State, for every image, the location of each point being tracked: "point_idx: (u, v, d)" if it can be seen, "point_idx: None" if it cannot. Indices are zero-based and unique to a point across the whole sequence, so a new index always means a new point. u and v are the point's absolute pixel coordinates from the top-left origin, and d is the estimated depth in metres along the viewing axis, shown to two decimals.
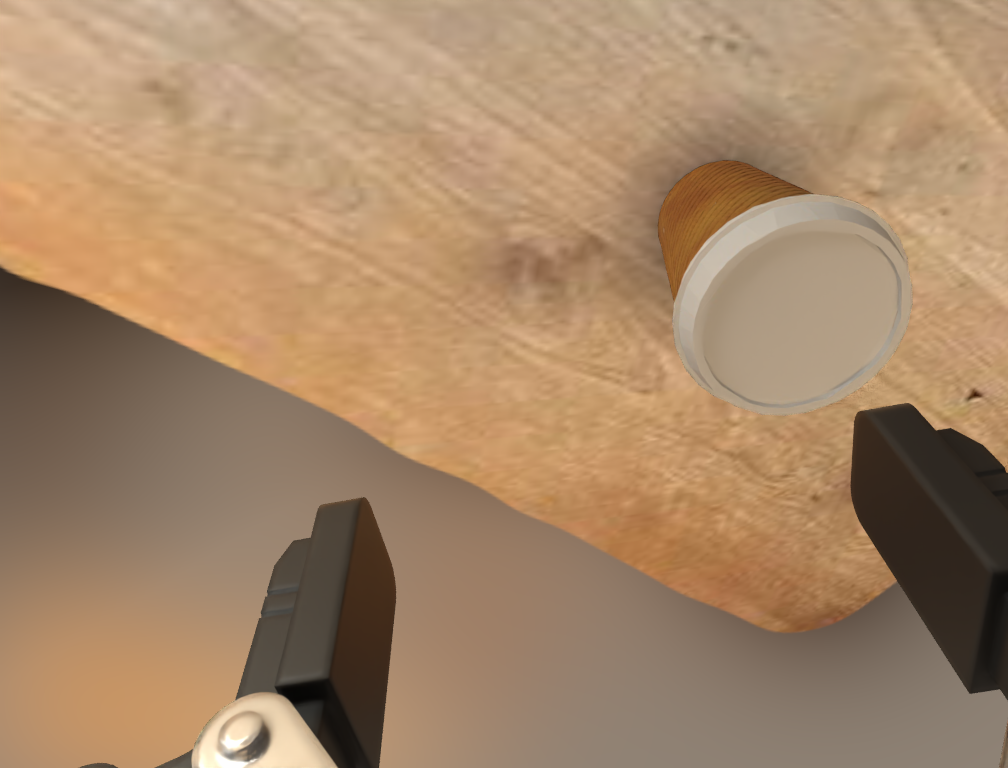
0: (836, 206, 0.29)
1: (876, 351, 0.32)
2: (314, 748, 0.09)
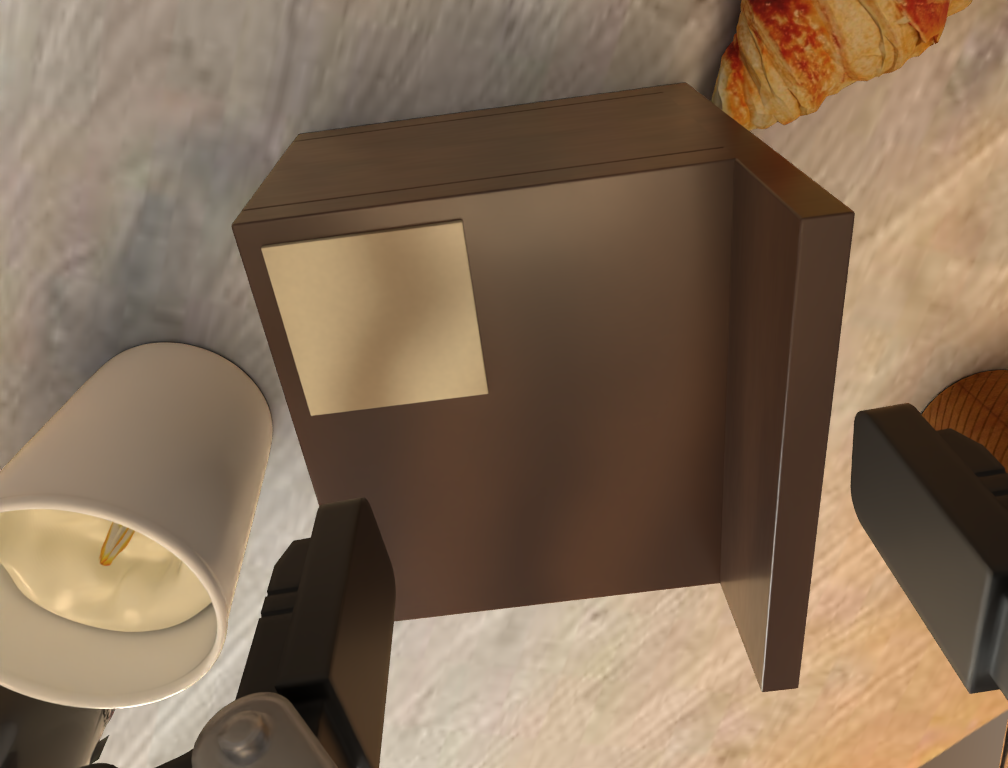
0: None
1: None
2: (314, 748, 0.09)
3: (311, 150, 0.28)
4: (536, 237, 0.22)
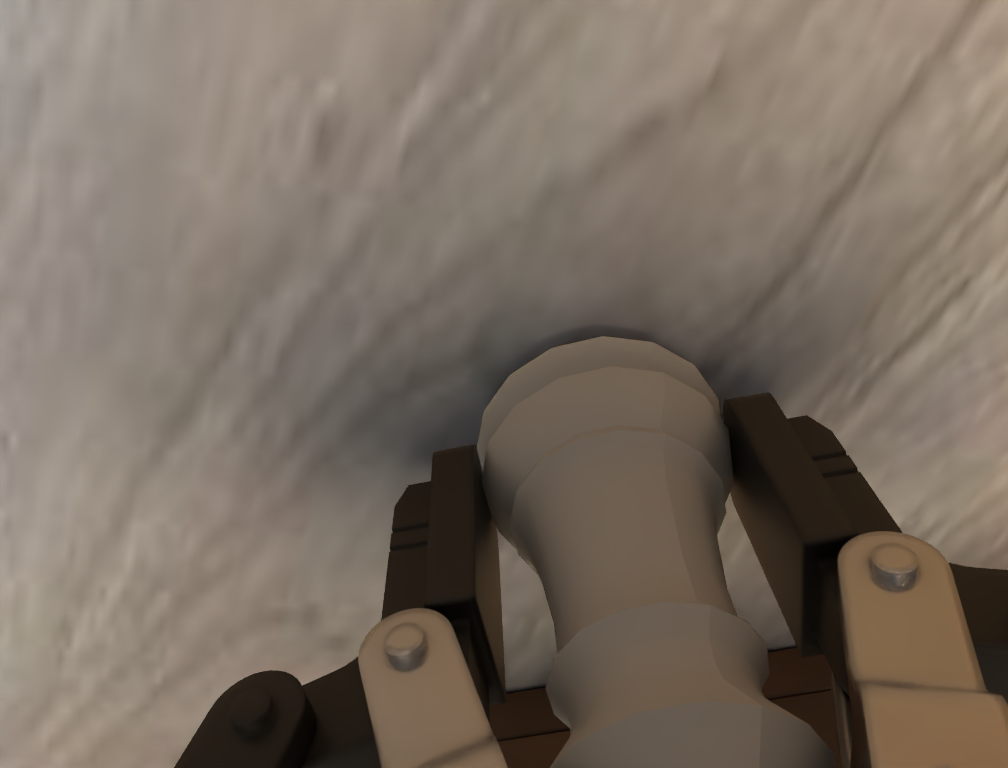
0: None
1: None
2: (463, 675, 0.09)
3: None
4: None
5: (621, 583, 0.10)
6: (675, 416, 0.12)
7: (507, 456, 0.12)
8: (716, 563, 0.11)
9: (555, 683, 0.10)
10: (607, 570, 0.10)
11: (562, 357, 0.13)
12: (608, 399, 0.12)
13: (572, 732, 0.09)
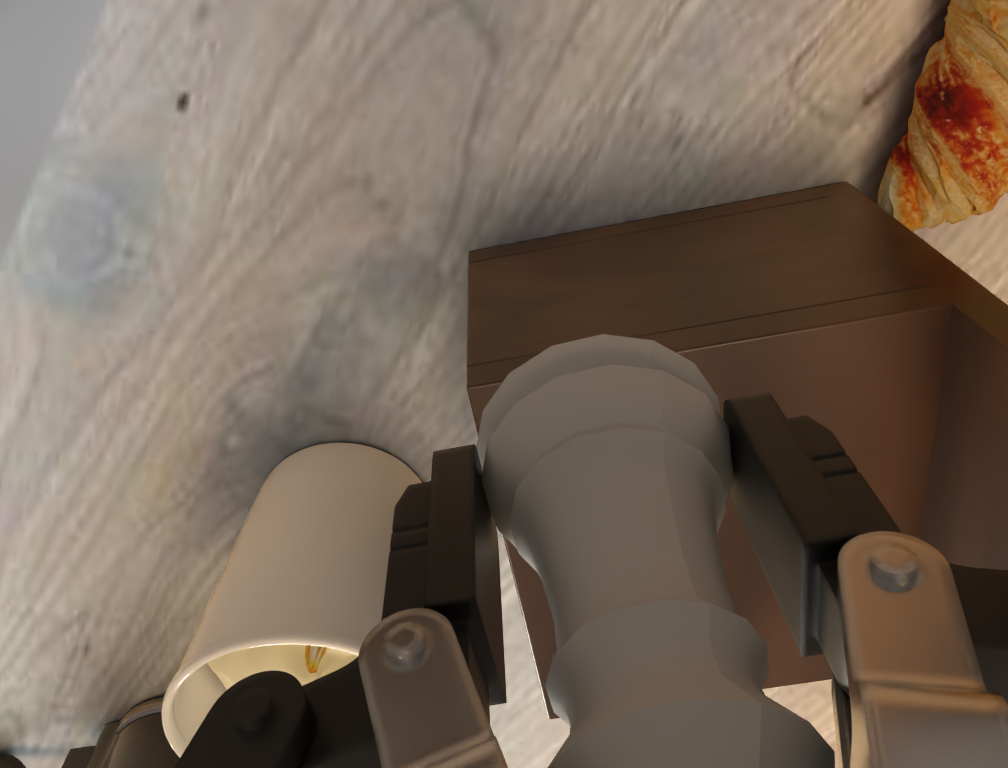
0: None
1: None
2: (463, 675, 0.09)
3: (495, 277, 0.29)
4: (754, 381, 0.23)
5: (622, 580, 0.10)
6: (675, 414, 0.12)
7: (507, 454, 0.12)
8: (716, 561, 0.11)
9: (555, 681, 0.10)
10: (607, 569, 0.10)
11: (562, 355, 0.13)
12: (609, 396, 0.12)
13: (572, 730, 0.09)
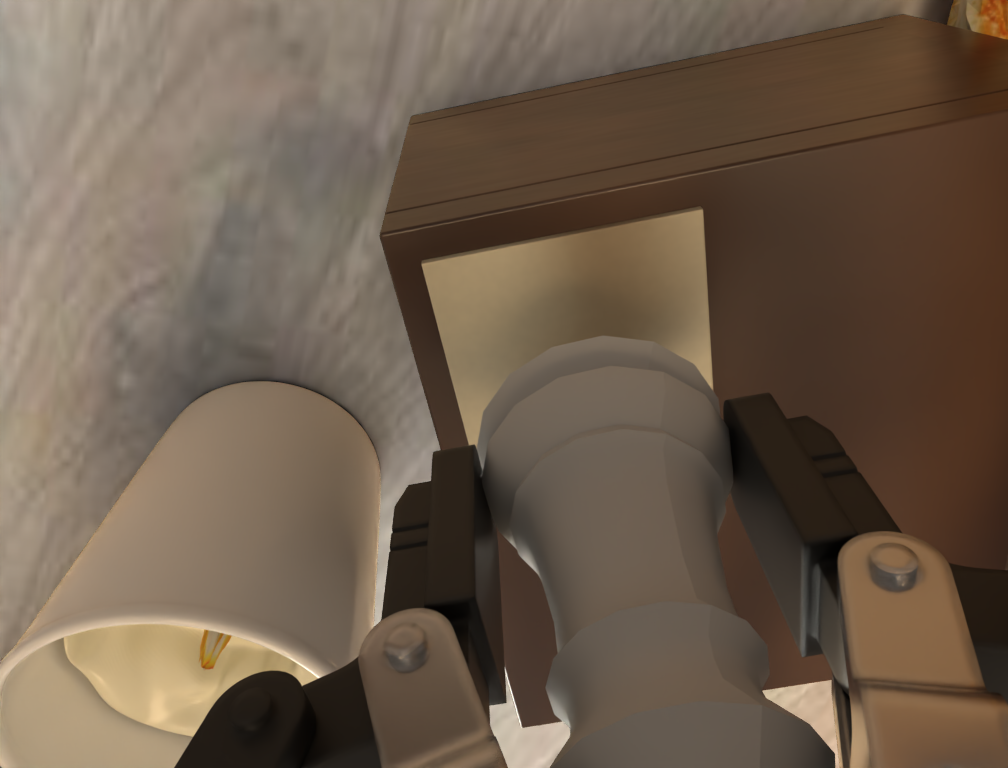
0: None
1: None
2: (463, 675, 0.09)
3: (440, 132, 0.21)
4: (801, 223, 0.16)
5: (622, 582, 0.10)
6: (674, 416, 0.12)
7: (507, 456, 0.12)
8: (716, 563, 0.11)
9: (555, 683, 0.10)
10: (608, 570, 0.10)
11: (562, 357, 0.13)
12: (609, 398, 0.12)
13: (572, 732, 0.09)
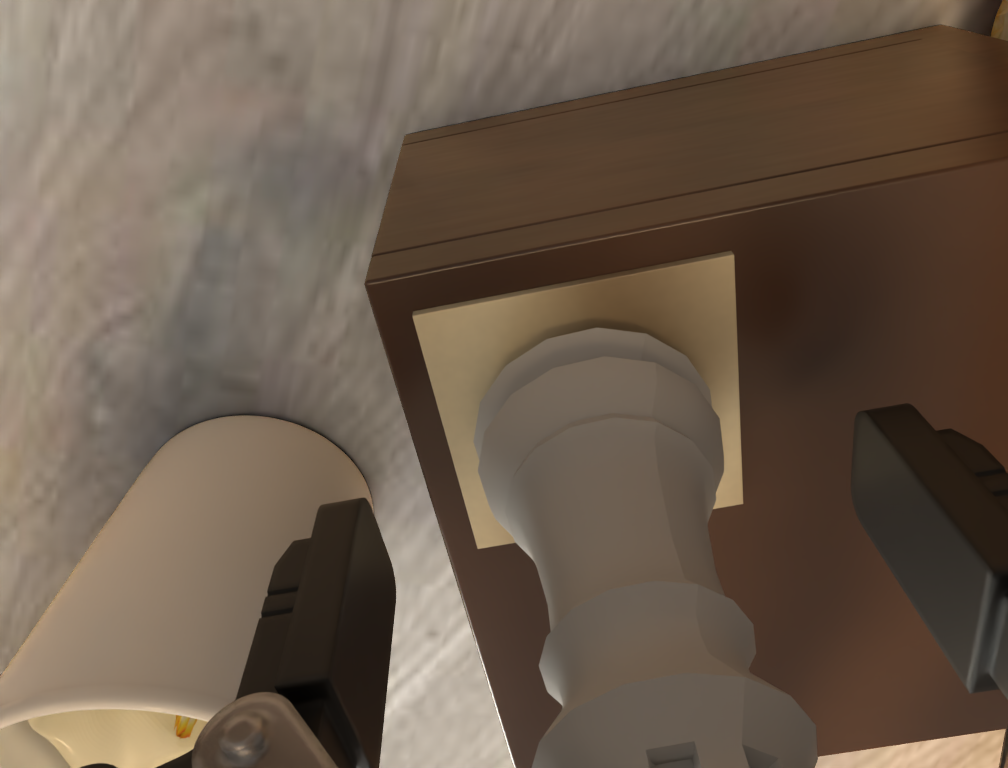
0: None
1: None
2: (314, 748, 0.09)
3: (436, 155, 0.20)
4: (846, 269, 0.14)
5: (612, 563, 0.10)
6: (666, 405, 0.12)
7: (502, 444, 0.13)
8: (705, 546, 0.11)
9: (548, 661, 0.10)
10: (599, 552, 0.10)
11: (556, 348, 0.13)
12: (601, 387, 0.12)
13: None
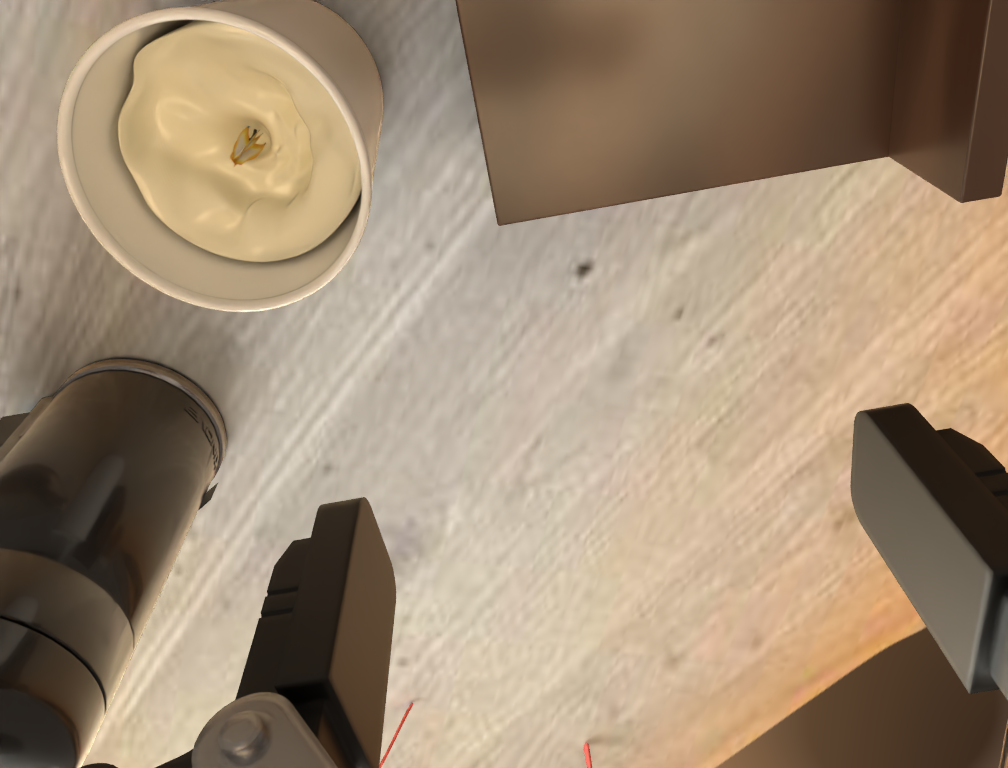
0: None
1: None
2: (314, 748, 0.09)
3: None
4: None
5: None
6: None
7: None
8: None
9: None
10: None
11: None
12: None
13: None
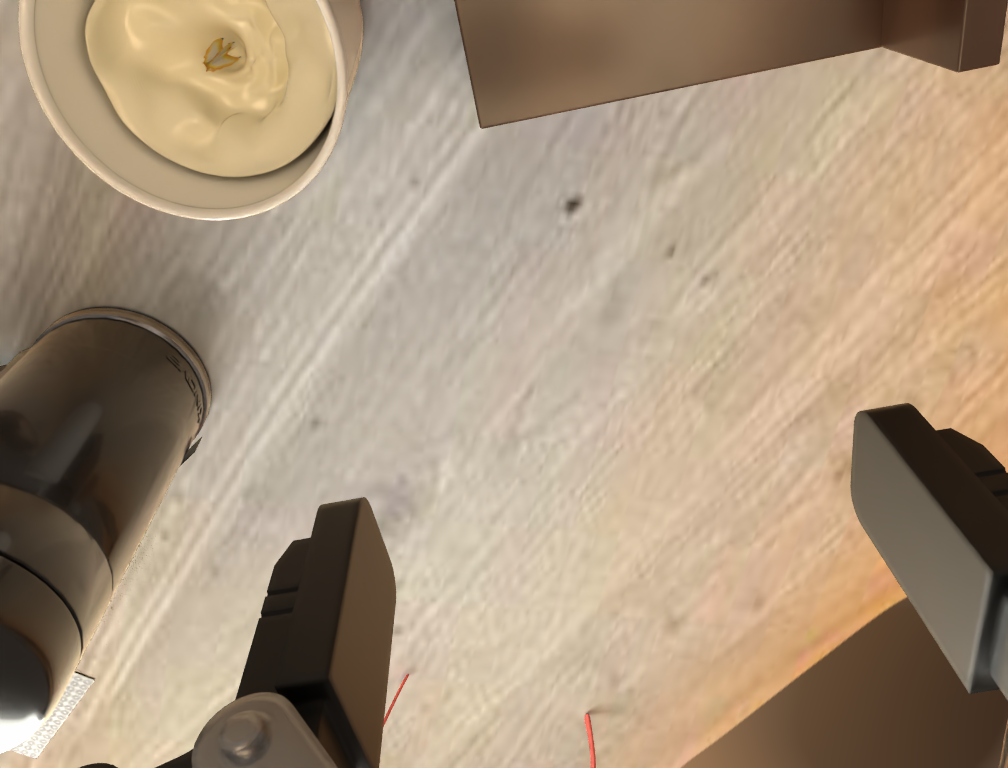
0: None
1: None
2: (314, 748, 0.09)
3: None
4: None
5: None
6: None
7: None
8: None
9: None
10: None
11: None
12: None
13: None
